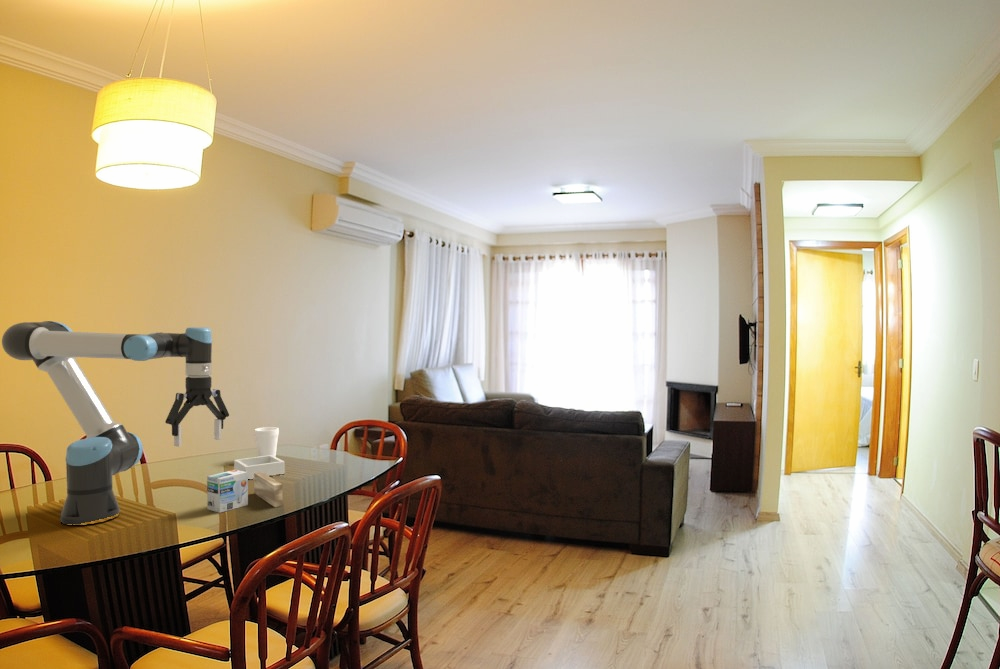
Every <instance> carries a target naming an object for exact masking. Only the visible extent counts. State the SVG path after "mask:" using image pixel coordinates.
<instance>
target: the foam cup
mask: <svg viewBox="0 0 1000 669" xmlns="http://www.w3.org/2000/svg"><path fill="white" fill-rule="evenodd" d="M279 429H280V428H279V427H276V426H265V427H257V428H255V429H254V437H255V443H256V450H257V457H260V456H267V455H273V456H275V457H277V456H276V455H277V448H278V441H279V440H278V439H279V434H280V430H279Z"/></svg>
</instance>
